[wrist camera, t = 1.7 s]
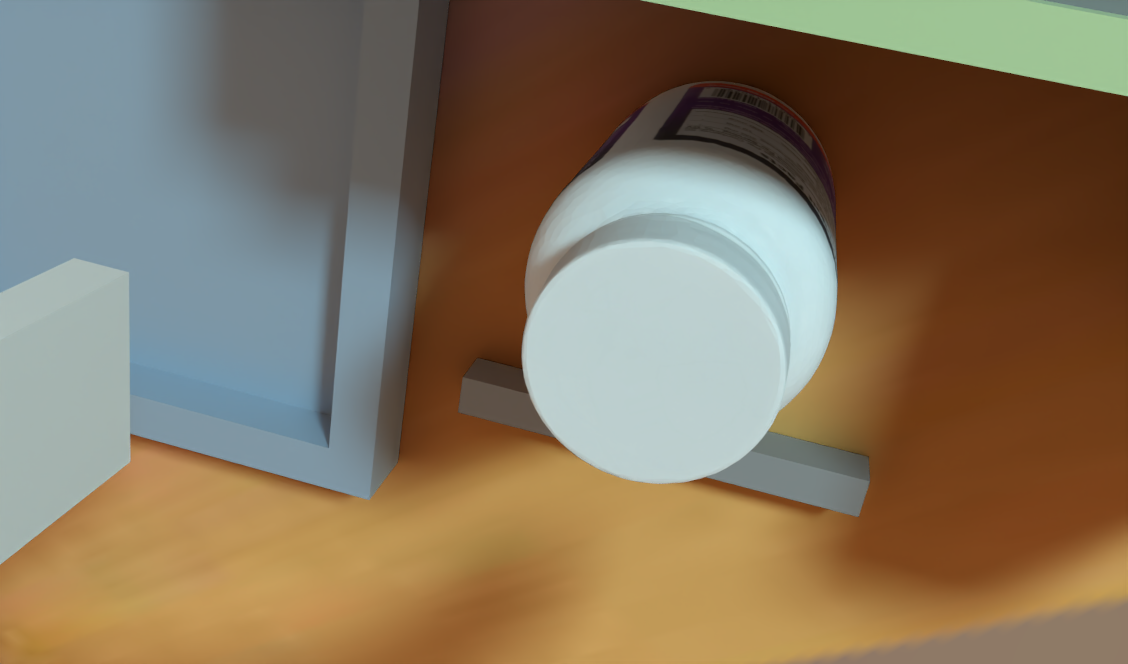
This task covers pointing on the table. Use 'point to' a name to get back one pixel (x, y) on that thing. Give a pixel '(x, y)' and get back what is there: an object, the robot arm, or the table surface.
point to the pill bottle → (683, 284)
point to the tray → (235, 208)
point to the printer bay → (903, 23)
